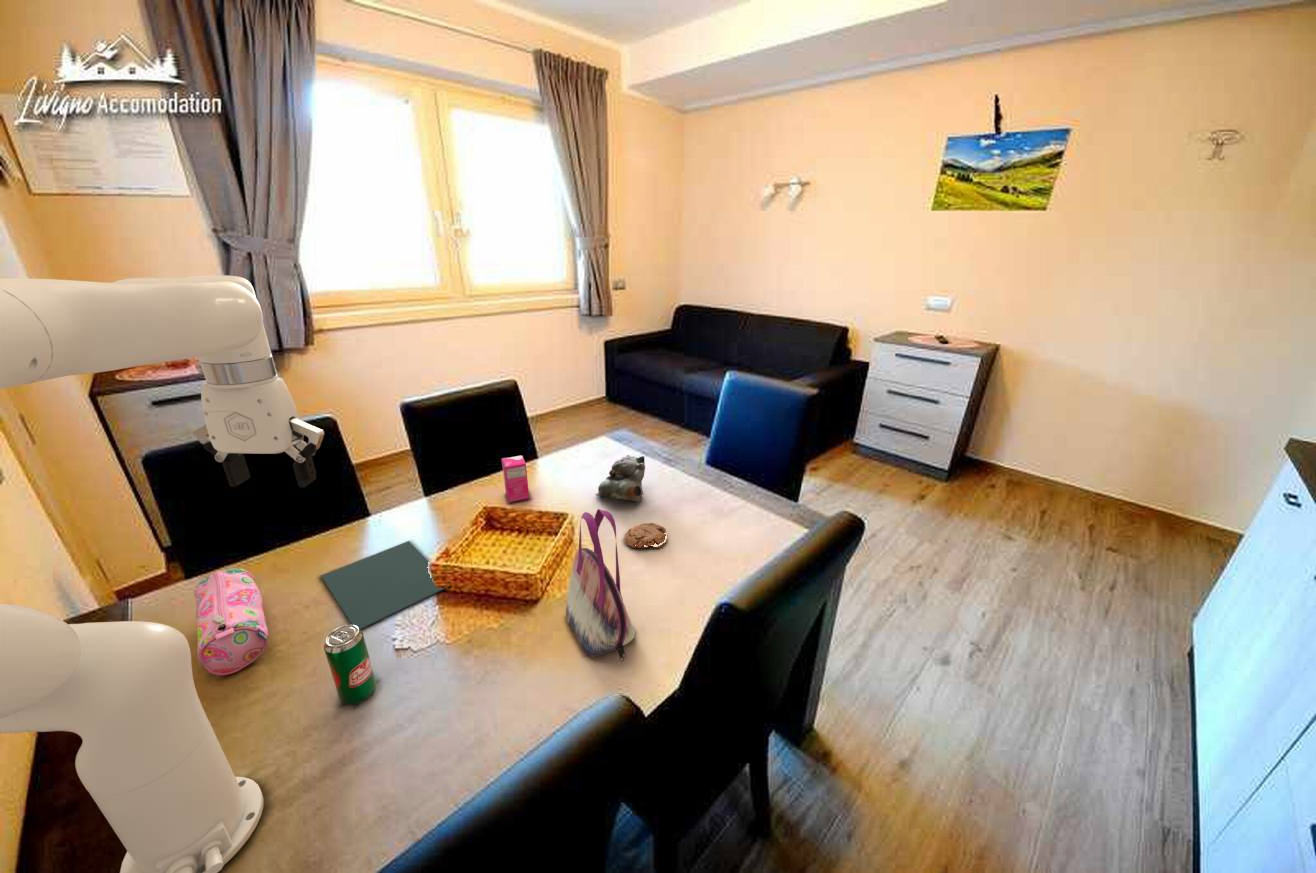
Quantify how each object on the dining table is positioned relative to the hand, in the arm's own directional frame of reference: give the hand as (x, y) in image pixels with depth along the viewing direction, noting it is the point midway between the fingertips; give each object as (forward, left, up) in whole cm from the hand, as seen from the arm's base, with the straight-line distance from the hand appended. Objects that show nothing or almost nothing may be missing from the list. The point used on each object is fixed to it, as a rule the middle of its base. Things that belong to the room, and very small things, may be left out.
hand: (274, 482), depth 72 cm
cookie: (-16, -64, -33) cm, 74 cm away
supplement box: (+24, -53, -33) cm, 67 cm away
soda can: (-13, -1, -33) cm, 36 cm away
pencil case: (+15, +10, -33) cm, 38 cm away
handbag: (-30, -37, -33) cm, 58 cm away
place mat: (+12, -14, -33) cm, 38 cm away
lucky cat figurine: (+4, -74, -33) cm, 81 cm away
